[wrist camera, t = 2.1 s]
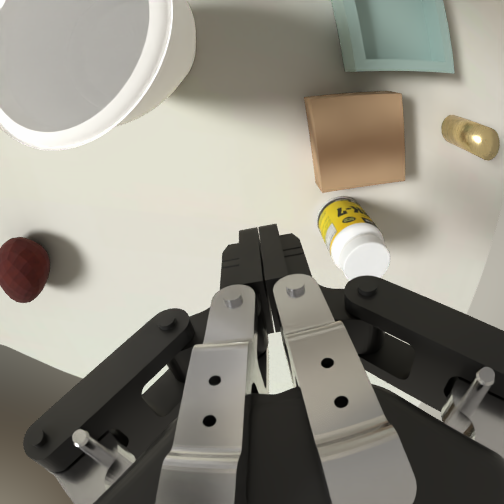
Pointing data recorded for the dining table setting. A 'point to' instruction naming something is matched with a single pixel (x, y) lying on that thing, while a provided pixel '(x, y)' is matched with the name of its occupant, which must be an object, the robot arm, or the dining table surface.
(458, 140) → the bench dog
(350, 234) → the supplement bottle
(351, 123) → the brown wooden square block
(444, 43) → the tray
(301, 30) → the dining table surface
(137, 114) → the jar
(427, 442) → the robot arm
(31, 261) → the potato
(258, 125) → the dining table surface
